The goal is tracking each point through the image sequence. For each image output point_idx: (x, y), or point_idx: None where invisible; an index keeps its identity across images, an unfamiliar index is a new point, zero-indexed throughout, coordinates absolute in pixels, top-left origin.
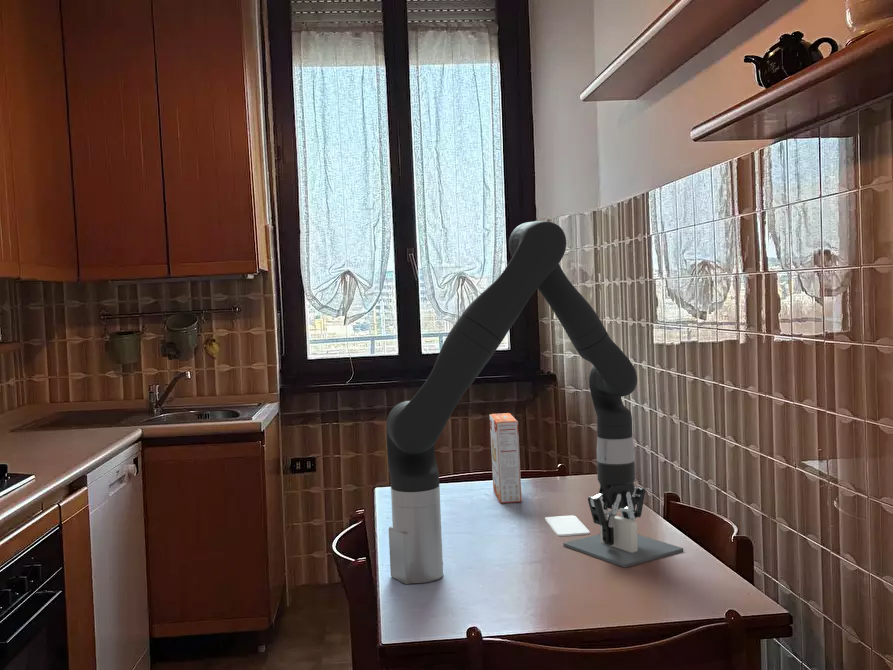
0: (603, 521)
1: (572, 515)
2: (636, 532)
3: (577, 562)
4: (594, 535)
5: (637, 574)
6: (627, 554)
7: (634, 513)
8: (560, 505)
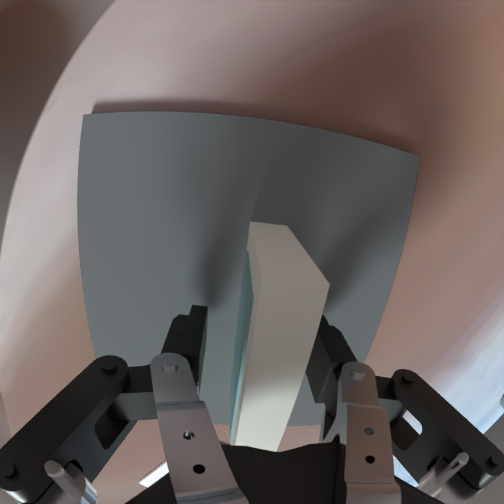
0: (415, 383)
1: (142, 484)
2: (261, 248)
3: (437, 303)
4: (214, 423)
5: (428, 88)
6: (318, 223)
7: (133, 390)
8: (124, 498)
